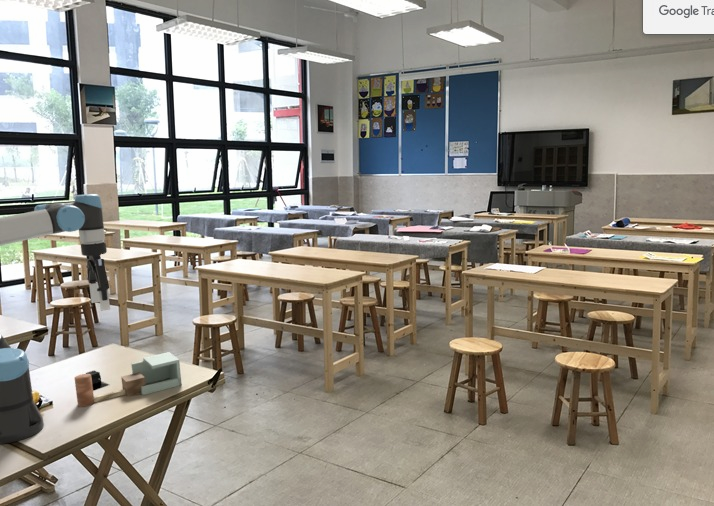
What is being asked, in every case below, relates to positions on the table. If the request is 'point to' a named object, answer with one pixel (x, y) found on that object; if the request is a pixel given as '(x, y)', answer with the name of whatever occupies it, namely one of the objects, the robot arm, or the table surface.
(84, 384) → the towed block
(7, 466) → the table surface
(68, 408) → the table surface
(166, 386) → the shelf lane
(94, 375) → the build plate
